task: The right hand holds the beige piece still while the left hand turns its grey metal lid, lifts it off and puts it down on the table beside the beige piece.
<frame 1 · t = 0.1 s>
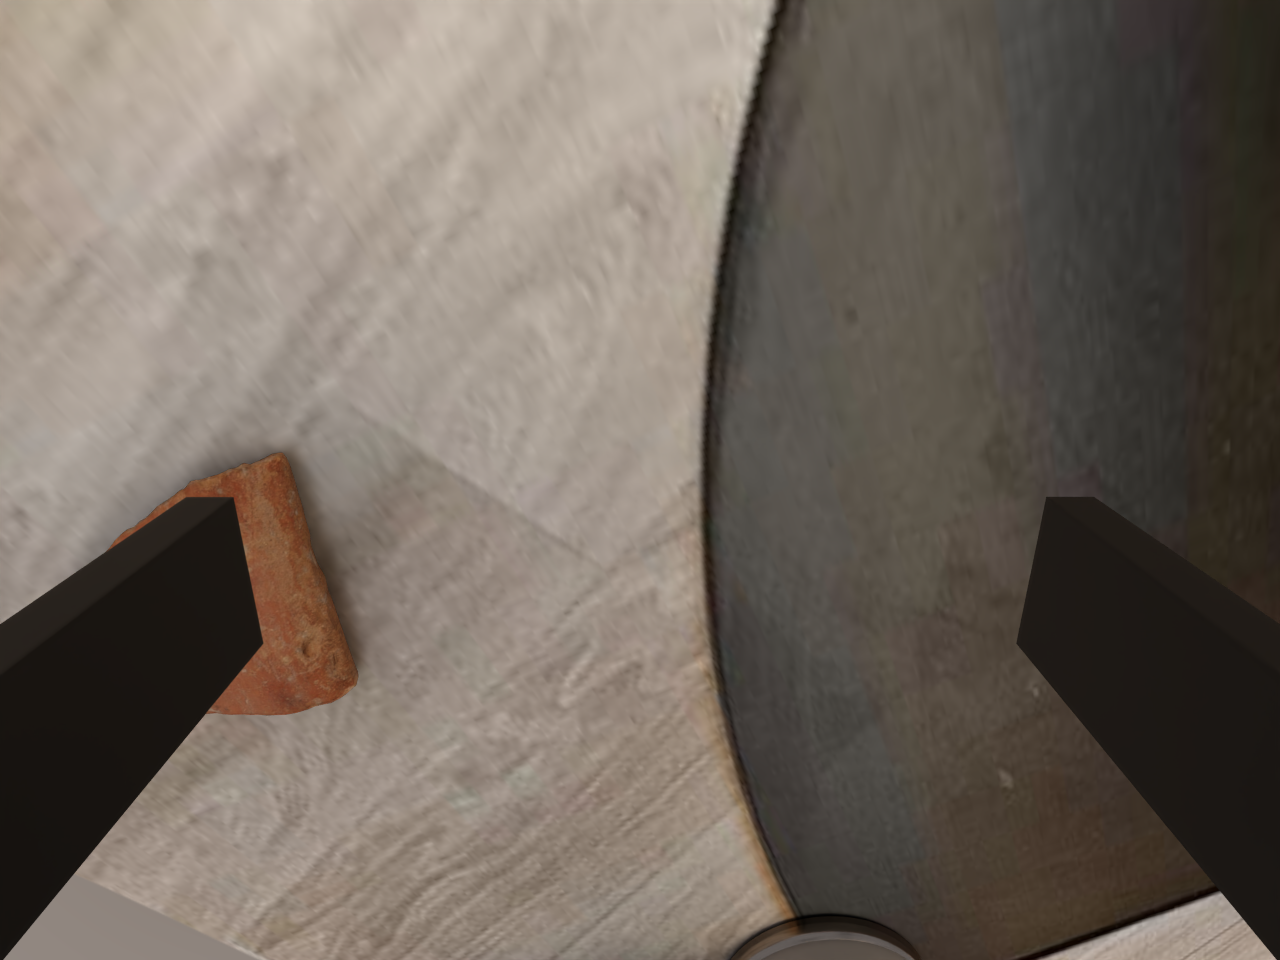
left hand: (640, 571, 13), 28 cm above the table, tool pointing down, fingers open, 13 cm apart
ceramic shard: (212, 578, 44), on the table
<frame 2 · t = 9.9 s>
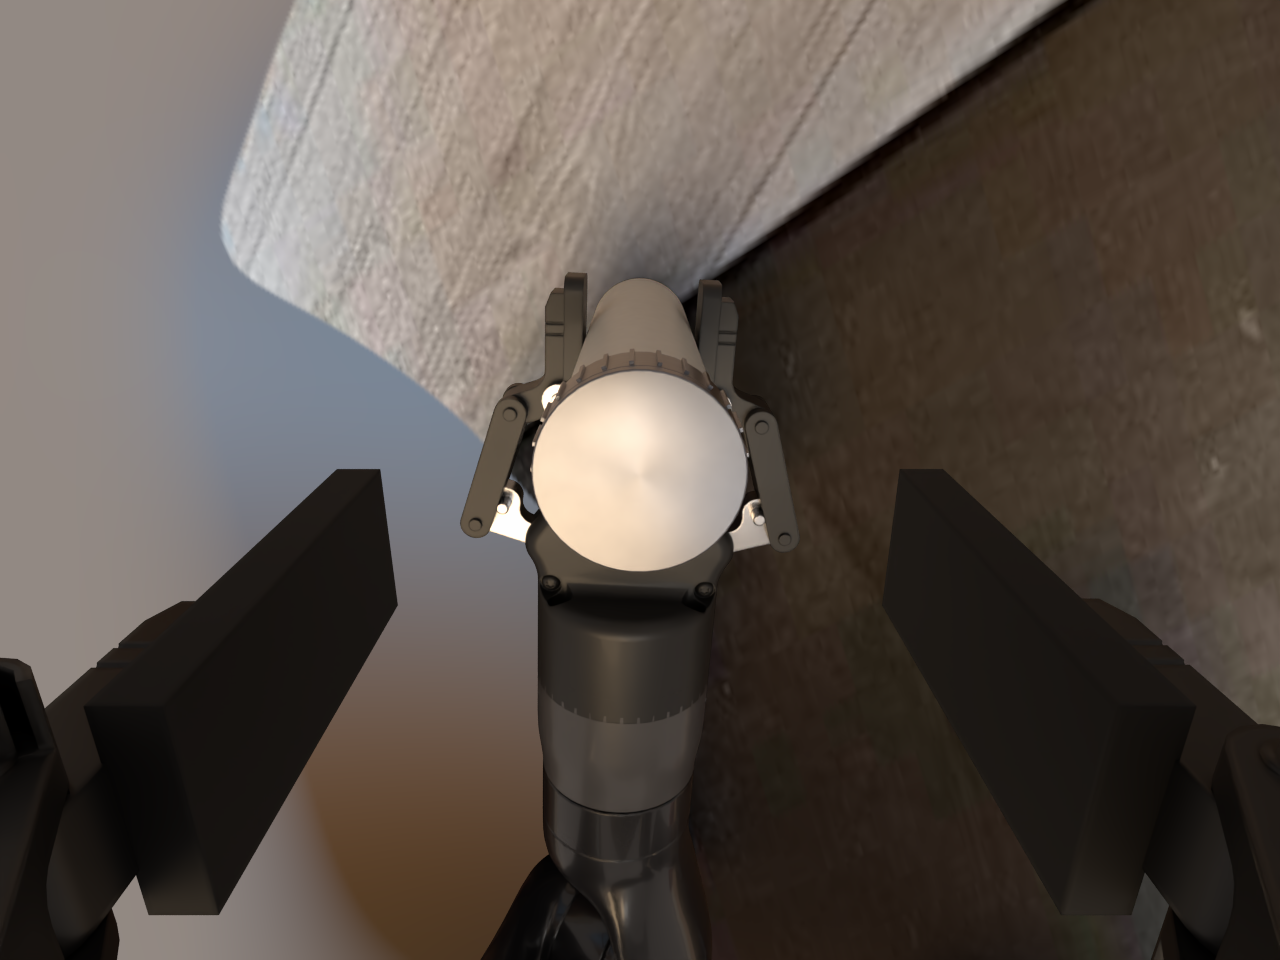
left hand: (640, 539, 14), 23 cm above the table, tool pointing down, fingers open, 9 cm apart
right hand: (642, 280, 28), fingers closed on beige piece, 4 cm apart
beige piece: (639, 325, 35), on the table, touching right hand
lid: (639, 470, 17), point 19 cm above the table, screwed on, not yet turned
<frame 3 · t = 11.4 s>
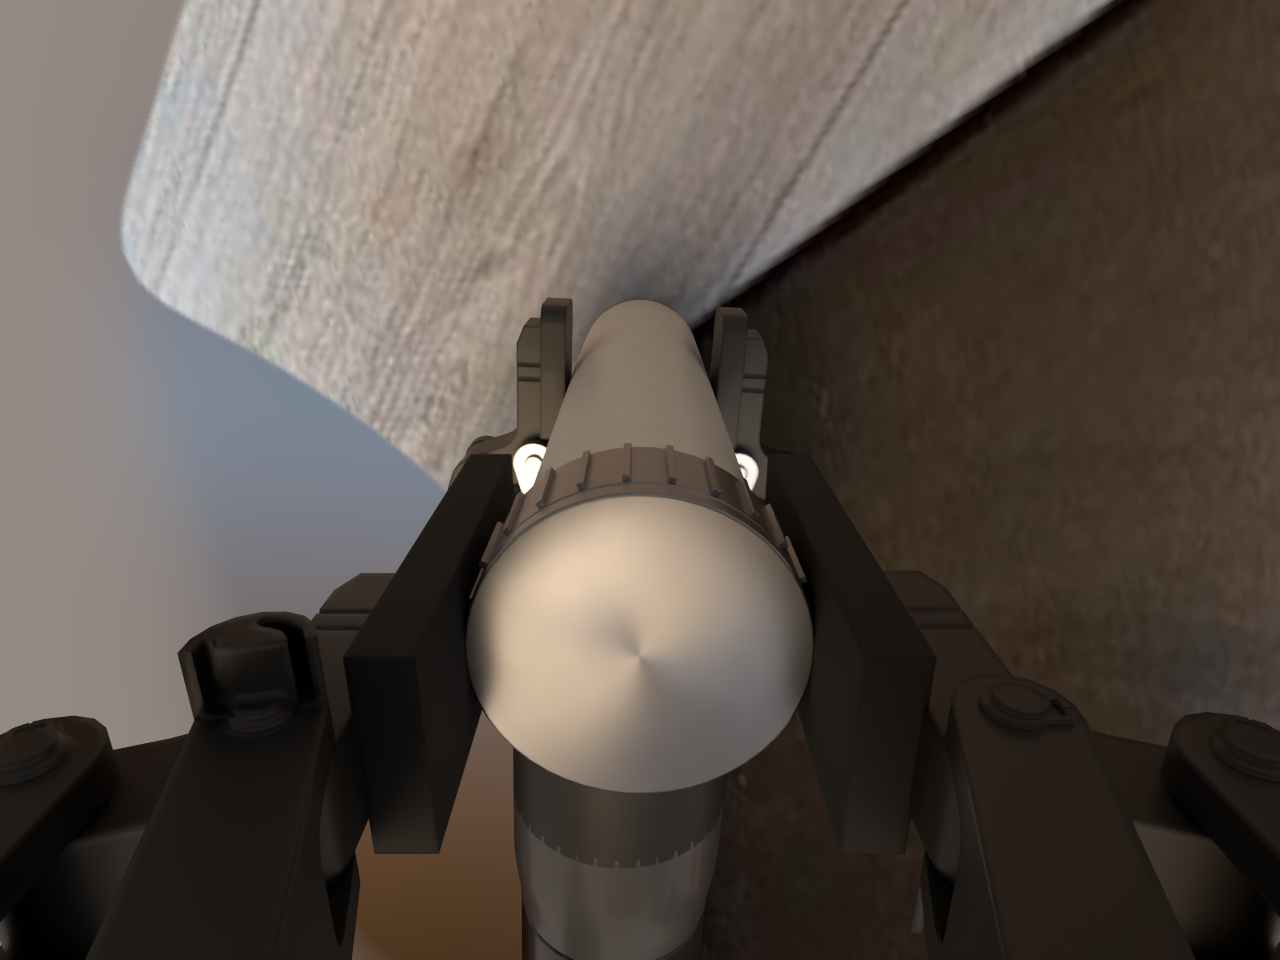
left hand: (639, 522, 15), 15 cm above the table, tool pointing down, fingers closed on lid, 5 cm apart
beige piece: (639, 357, 28), on the table, touching right hand
lid: (639, 641, 11), point 19 cm above the table, screwed on, not yet turned, touching left hand
when the left hand's fingers open (15 cm above the table, at t = 13.0 s): lid stays where it is, point 19 cm above the table.
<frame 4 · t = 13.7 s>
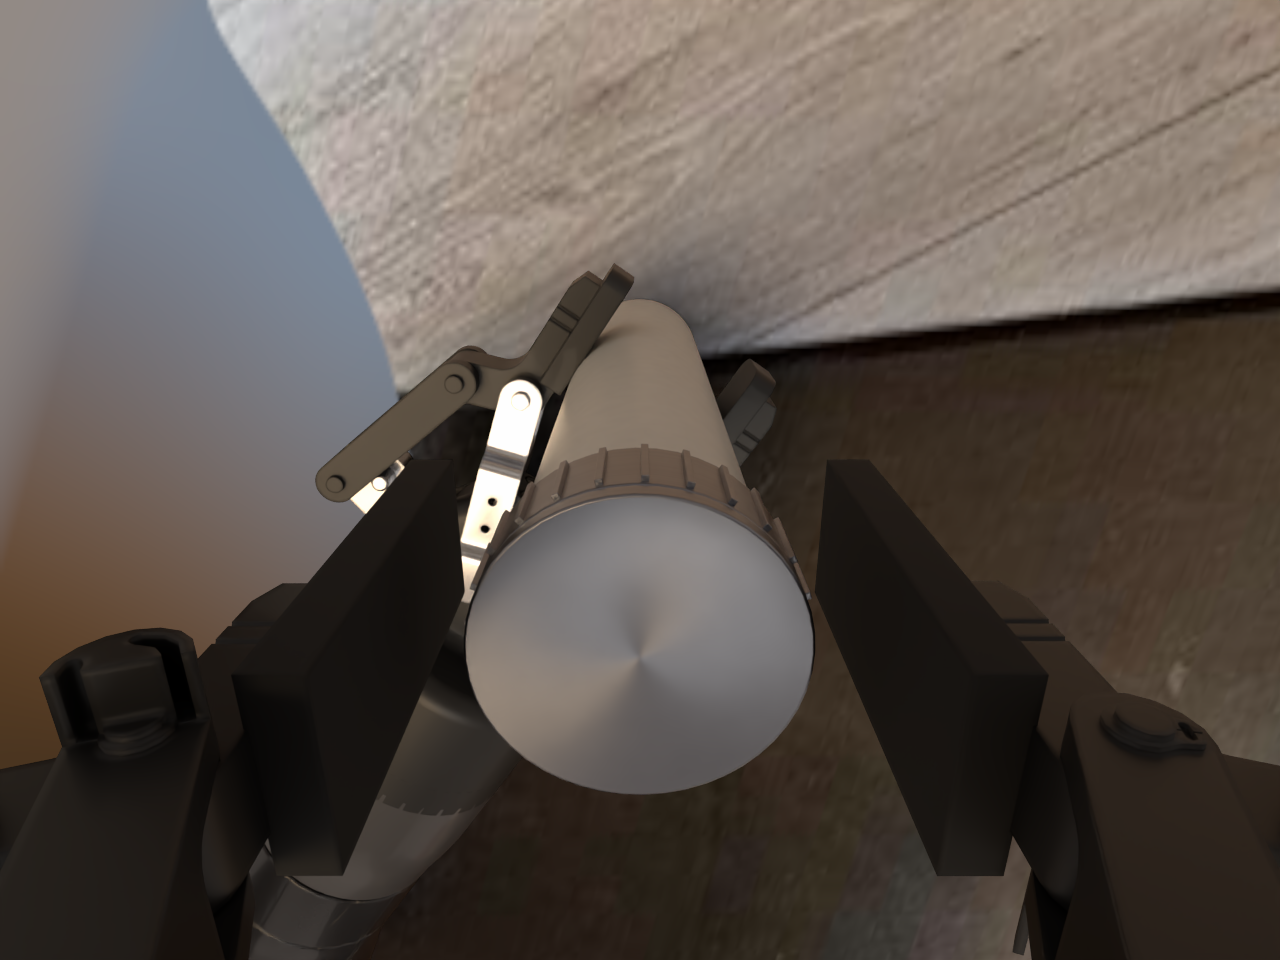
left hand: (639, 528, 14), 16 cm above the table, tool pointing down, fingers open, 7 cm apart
right hand: (692, 324, 22), fingers closed on beige piece, 4 cm apart
beige piece: (639, 356, 29), on the table, touching right hand
lid: (639, 643, 11), point 19 cm above the table, turned 97° so far, risen 0.3 cm, still on its thread
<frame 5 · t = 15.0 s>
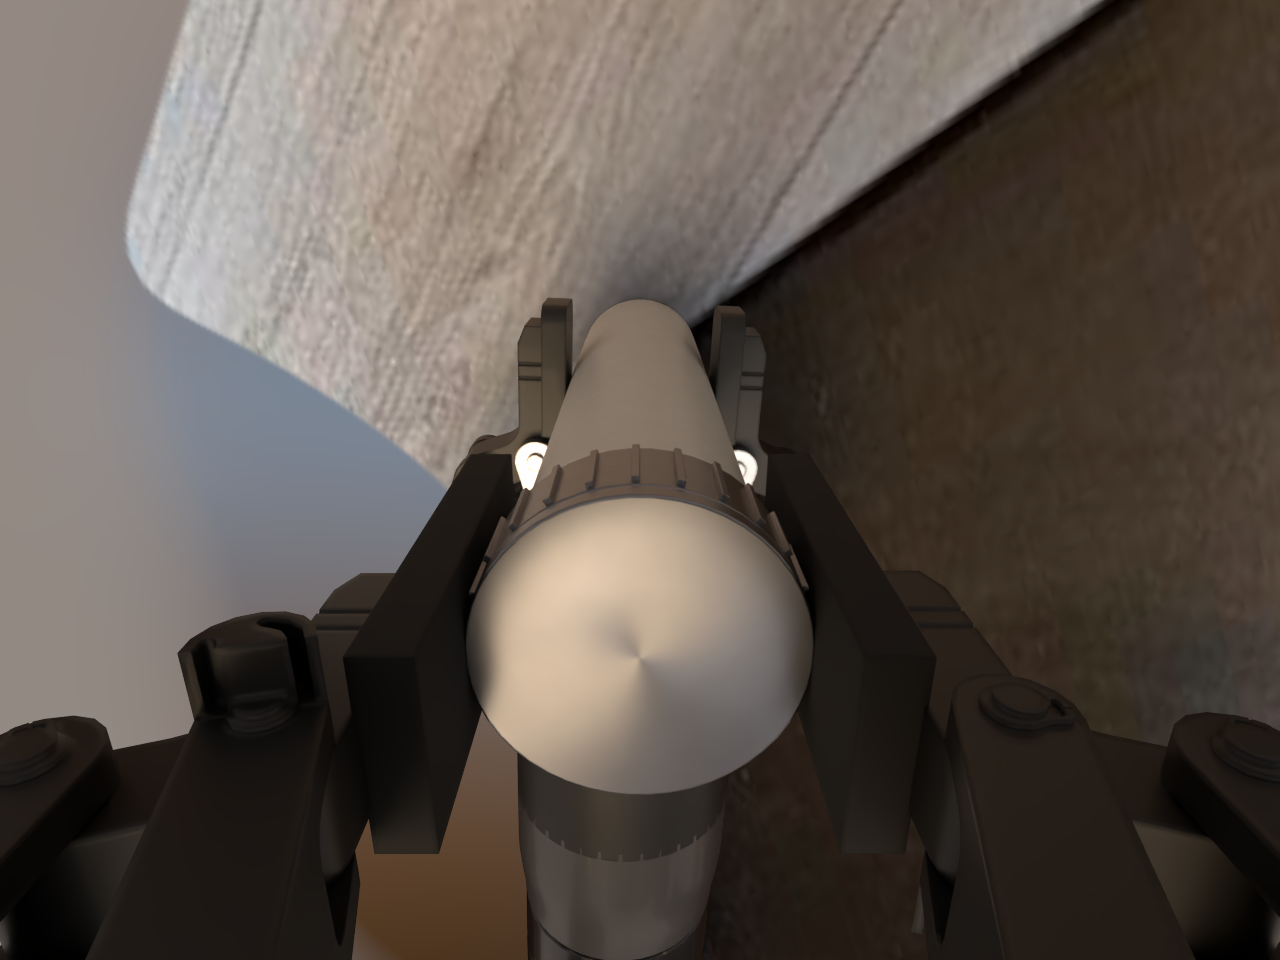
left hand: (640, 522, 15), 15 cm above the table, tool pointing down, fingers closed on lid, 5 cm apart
beige piece: (639, 356, 29), on the table, touching right hand
lid: (639, 643, 11), point 19 cm above the table, turned 97° so far, risen 0.3 cm, still on its thread, touching left hand
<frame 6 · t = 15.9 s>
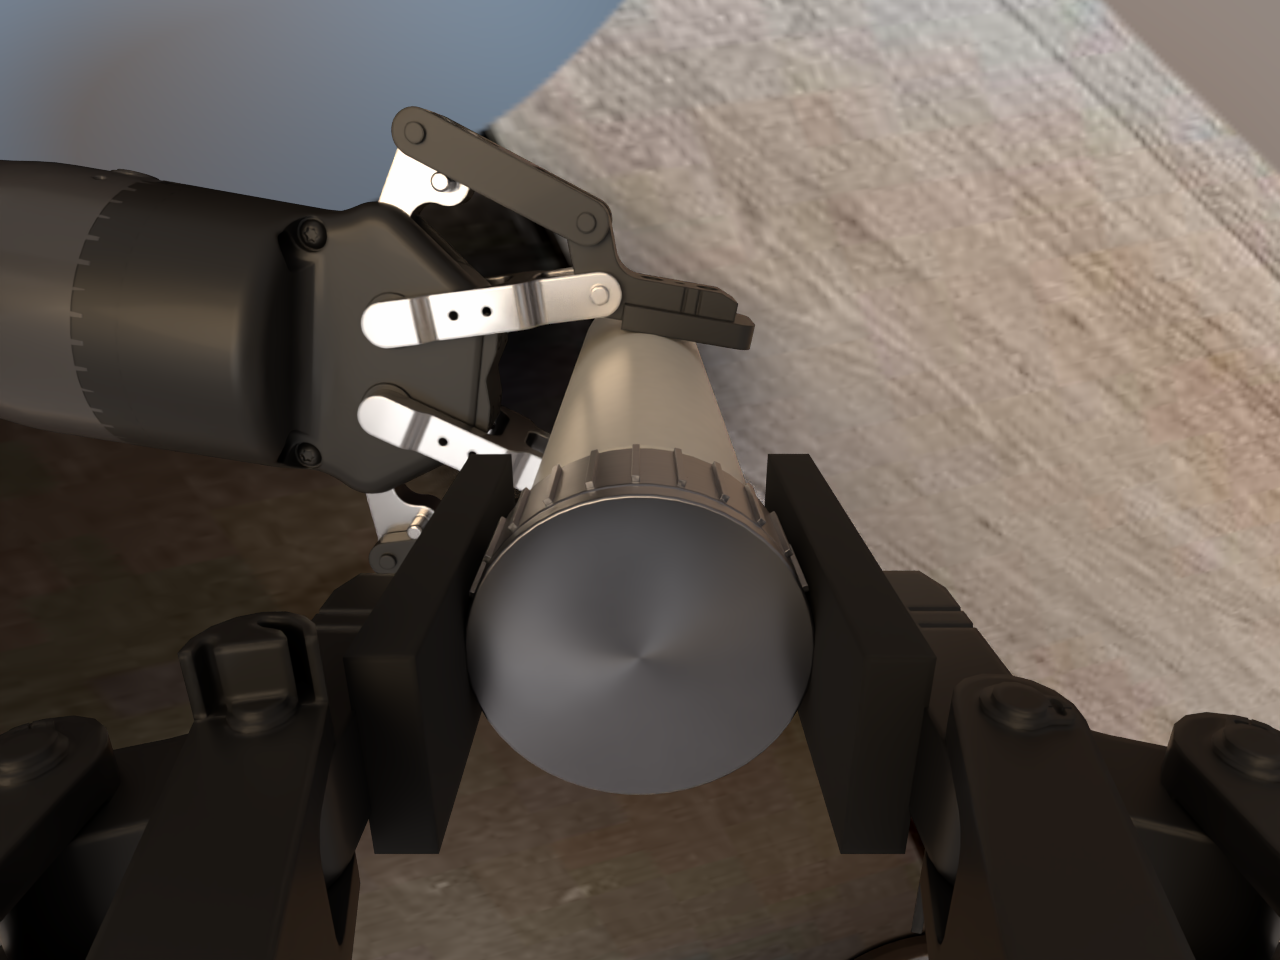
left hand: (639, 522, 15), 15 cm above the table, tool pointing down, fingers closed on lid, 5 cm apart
right hand: (728, 411, 23), fingers closed on beige piece, 4 cm apart
beige piece: (639, 353, 29), on the table, touching right hand
lid: (639, 643, 11), point 20 cm above the table, off its thread, touching left hand
when the left hand's fingers open (0 cm above the table, at t = 21.6 s): lid drops 3 cm, point 2 cm above the table.
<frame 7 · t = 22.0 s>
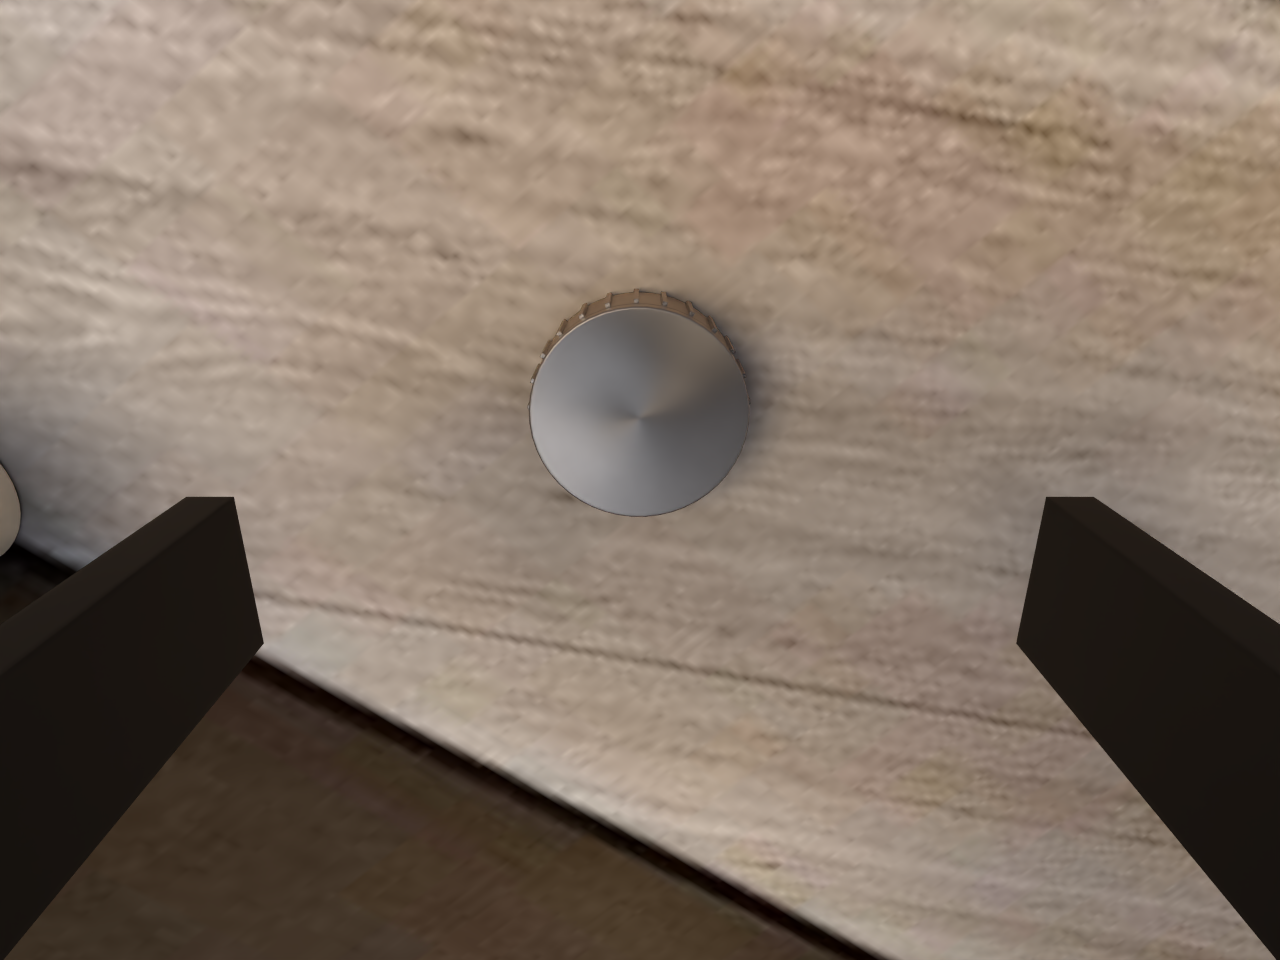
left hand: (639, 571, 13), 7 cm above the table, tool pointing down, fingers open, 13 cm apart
lid: (639, 412, 17), point 2 cm above the table, off its thread
when the right hand's fingers open (6 cm above the table, at t = 22.1 s): beige piece stays where it is, on the table.
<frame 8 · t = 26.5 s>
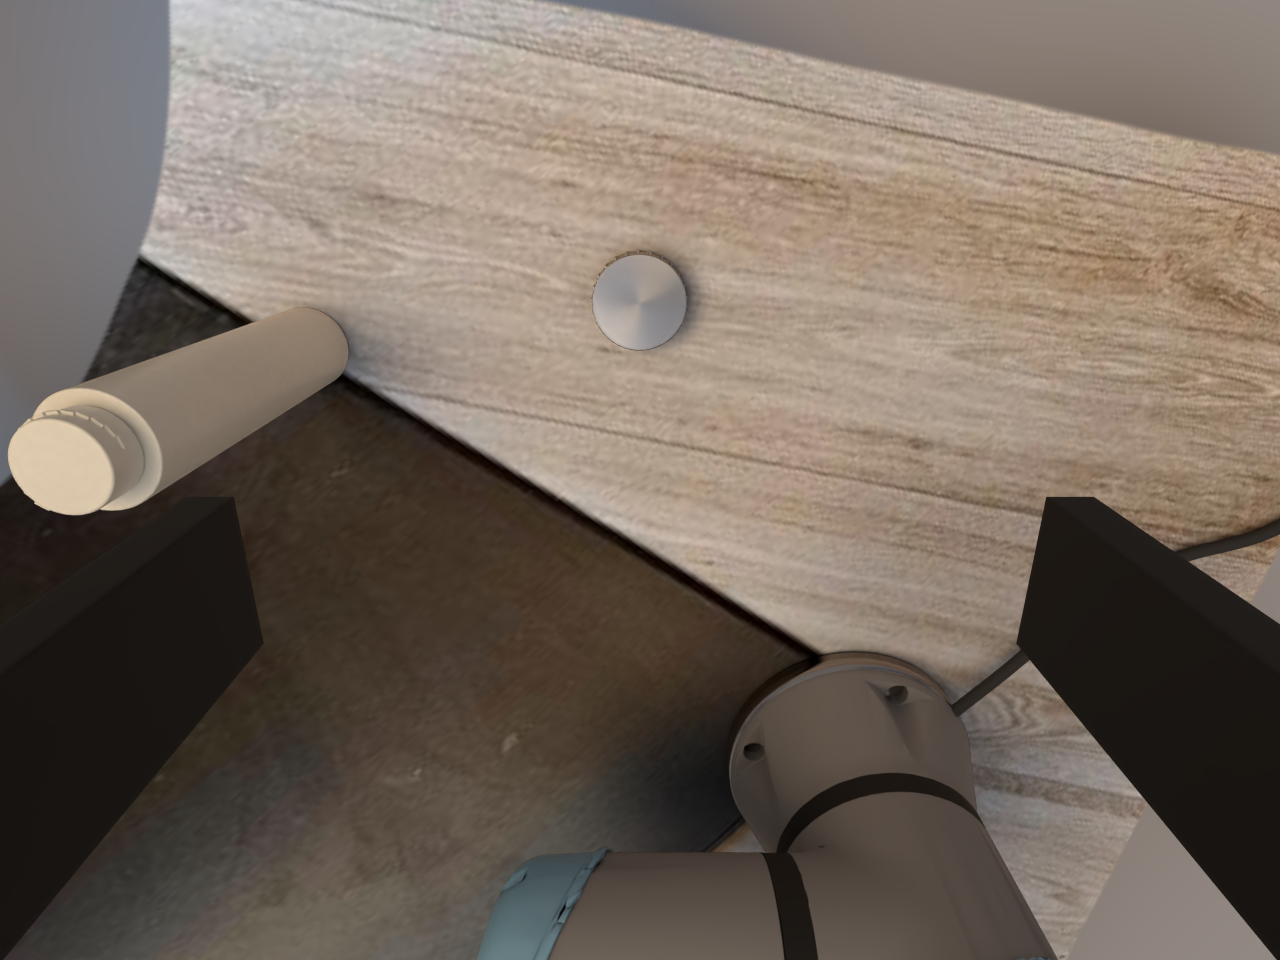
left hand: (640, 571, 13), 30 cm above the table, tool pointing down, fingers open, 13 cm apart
beige piece: (309, 347, 41), on the table
lid: (639, 302, 39), point 2 cm above the table, off its thread
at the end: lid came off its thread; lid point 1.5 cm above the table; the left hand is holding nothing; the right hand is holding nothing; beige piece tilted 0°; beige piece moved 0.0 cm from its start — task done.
